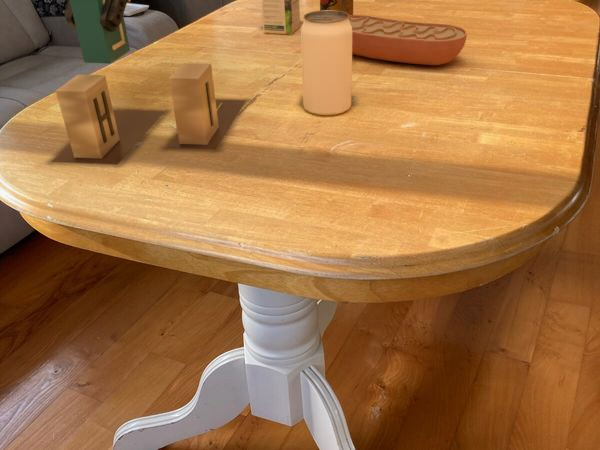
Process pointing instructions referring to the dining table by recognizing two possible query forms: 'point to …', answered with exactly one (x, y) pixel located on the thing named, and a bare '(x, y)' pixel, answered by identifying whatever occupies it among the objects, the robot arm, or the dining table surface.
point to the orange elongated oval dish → (405, 40)
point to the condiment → (337, 5)
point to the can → (326, 62)
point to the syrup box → (280, 16)
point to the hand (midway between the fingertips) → (90, 26)
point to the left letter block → (98, 123)
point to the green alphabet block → (98, 33)
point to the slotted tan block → (199, 108)
